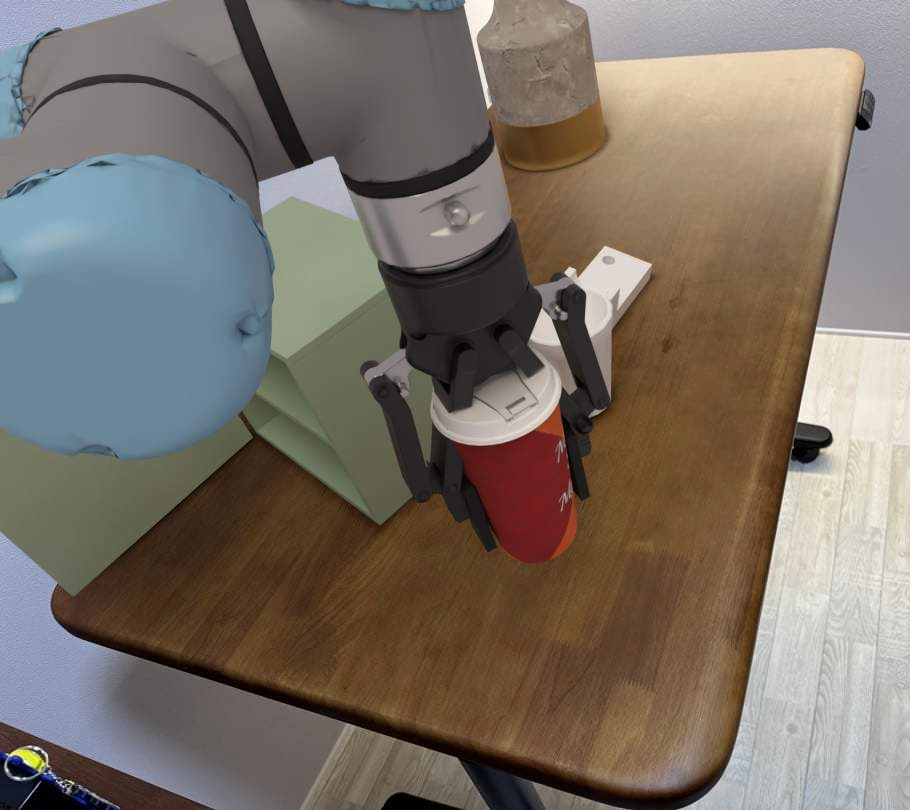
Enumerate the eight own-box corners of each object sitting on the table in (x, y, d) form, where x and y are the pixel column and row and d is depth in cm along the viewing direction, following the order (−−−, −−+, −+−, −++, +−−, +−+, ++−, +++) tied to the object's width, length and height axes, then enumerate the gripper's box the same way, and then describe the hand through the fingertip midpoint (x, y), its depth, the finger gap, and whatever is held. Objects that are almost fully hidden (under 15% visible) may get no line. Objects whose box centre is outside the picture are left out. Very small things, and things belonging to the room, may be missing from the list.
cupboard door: (43, 571, 88) (-117, 428, 72) (221, 421, 102) (118, 271, 86) (73, 597, 85) (-89, 452, 69) (253, 437, 98) (152, 284, 82)
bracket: (604, 343, 99) (610, 300, 93) (556, 322, 101) (559, 278, 95) (648, 284, 106) (656, 240, 100) (602, 265, 108) (607, 221, 102)
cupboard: (380, 525, 84) (286, 358, 67) (256, 433, 99) (155, 278, 82) (495, 422, 91) (436, 250, 75) (364, 351, 107) (291, 195, 90)
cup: (526, 414, 91) (500, 327, 83) (577, 363, 96) (558, 276, 87) (593, 444, 86) (573, 355, 77) (644, 389, 90) (631, 299, 82)
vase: (616, 118, 143) (590, -68, 122) (590, 169, 131) (558, -28, 110) (523, 123, 149) (484, -53, 128) (490, 172, 137) (442, -13, 117)
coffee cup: (616, 532, 55) (585, 377, 45) (521, 598, 53) (466, 450, 43) (549, 467, 61) (509, 317, 51) (461, 525, 59) (400, 378, 48)
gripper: (279, 354, 35) (425, 619, 51) (645, 188, 40) (676, 480, 55) (247, 281, 41) (388, 542, 56) (573, 142, 45) (620, 420, 60)
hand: (531, 511), depth 56 cm, fingers closed on coffee cup, 7 cm apart
